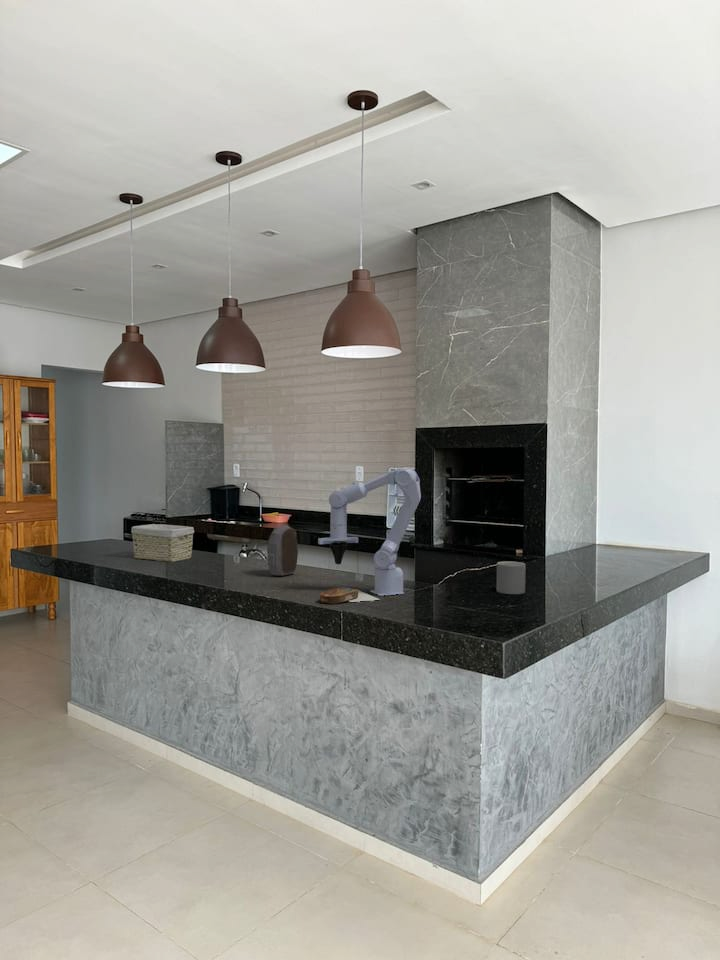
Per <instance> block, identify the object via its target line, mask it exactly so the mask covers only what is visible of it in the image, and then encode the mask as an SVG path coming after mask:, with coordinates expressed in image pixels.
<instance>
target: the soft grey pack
mask: <svg viewBox="0 0 720 960" xmlns="http://www.w3.org/2000/svg"><path fill="white" fill-rule="evenodd" d="M266 548H267V550H266V554H267V566H268V571H269V574H270V575H272V576H278V577H279V576H280V577H282V576H287V575H291V574H294V573H295V572H296V570H297V564H298V556H299V555H298V554H299V546H298V539H297V532H296V530H295V529H294V528H293V527H290V526H289V525H286V524H281V525H280V526H277V527H275V528H274V529H273V530H272V532H271V533H270V535H269V538H268V541H267V547H266Z"/></svg>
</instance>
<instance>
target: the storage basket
mask: <svg viewBox="0 0 720 960" xmlns="http://www.w3.org/2000/svg"><path fill="white" fill-rule="evenodd" d="M130 530H131V531H130V532H131V535H132V536H131V537H132V542H133V543H132V545H133V555H134V558H135V559H139V560H141V559H143V560H148V561H149V560H152V561H157V562H172V563H174V562H179V561H184V560H189V559H191V558H192V554H193V553H192V552H193V543H194V542H193V541H194V540H193V539H194V533H195V530H194V527H193V526H187V525H186V526H185V525H176V524H175V525H173V524H162V523H160V524H158V523H157V524H155V523H152V524H151V523H150V524H141V525H135V526H131V529H130Z"/></svg>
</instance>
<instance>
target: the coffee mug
mask: <svg viewBox="0 0 720 960" xmlns="http://www.w3.org/2000/svg"><path fill="white" fill-rule="evenodd" d="M495 590H496V592H497V593H500V594H504V595H522V594H525V593H526V563H525V562H521V561H519V562H518V561H507V560H506V561H498V562H496V589H495Z"/></svg>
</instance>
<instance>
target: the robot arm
mask: <svg viewBox="0 0 720 960" xmlns="http://www.w3.org/2000/svg"><path fill="white" fill-rule="evenodd" d="M420 484H421V483H420V477H419V476H418V474H417V471H415V469H413V468H410V467H408V468H407V467H406V468H400V469H398V470H393V471H390V472H386V473H384V474H382V475H379V476H377V477H376V478H374V479H372V480H369V481H367V482H365V483H364V482H361V481H358V482H357V481H354V482H352V484H351V485H348V486H346V487H344V486H343V487H340V490H334V491H333V492H331V493H330V495H329V496H328V504H329V505H330V521H329V522H330V530H329V531H330V532H329V534H330V536H329V537H321V538H320V537H318V539H317V540H318V541H317V543H318V545H327V544H328V546H329V548H330V550H331V552H332V555H333V558H334V564H336V565H341V564H342V561H343V558H344V555H345V552H346V550H347V548H348V544H353V543H356V544H359V537H358V536H348V535H347V534H348V533H347V531H348V528H347V526H348V525H347V524H348V522H347V521H348V513H347V511H348V509H347V508H348V505H350V504H351V503H356V502H357V501H359V500H361V499H364V498H366V497H367V495H368V493H369V492H371V491H373V490H376V489H379V488H381V487H384V486H386V485H393V486H394V485H397V487H398V488H400V490H401V492H402V493H403V496H404V501H403V503H402V505H401V507H400V509H399V511H398V513H397V516H396V518H395V520H394V521H393V524H392V526H391V528H390V529H389V532H388V534H387V537H386V539H385V540H384V542H383V543H382V545H381V546H380V549H378V550H377V551H376V552H375V554H374V555H373V562H374V563H373V564H374V565H375V566H374V589H373V590H370V591H369V593H372V594H374V595H376V594H377V595H376V596H379V597H383V596H384V595H385V596H395V595H396V594H398V595H405V592H404V572H403V570H402V568H401V567H398V566H396V564H395V563H396V561H397V559H398V551H399V548H400V544H401V542H402V539H403V538H404V535H405V533H406V532H407V528H408V527H409V525H410V522H411V521H412V518H413V516H414V514H415V512H416V510H417V508H418V506H419V504H420V501H421V498H422V495H421V485H420Z"/></svg>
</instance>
